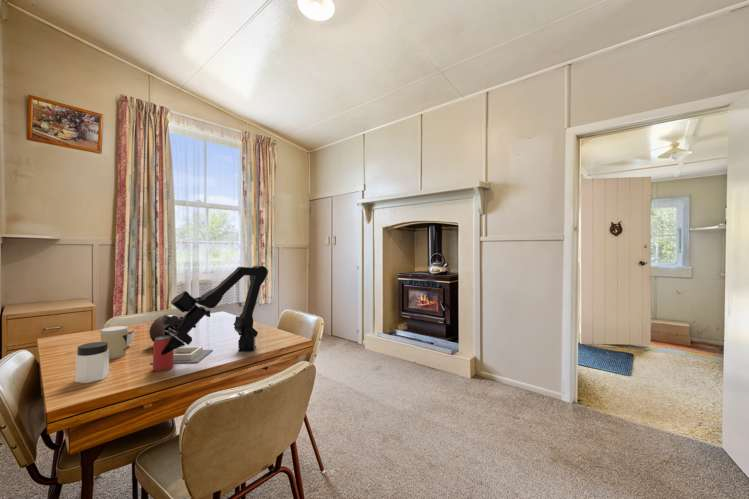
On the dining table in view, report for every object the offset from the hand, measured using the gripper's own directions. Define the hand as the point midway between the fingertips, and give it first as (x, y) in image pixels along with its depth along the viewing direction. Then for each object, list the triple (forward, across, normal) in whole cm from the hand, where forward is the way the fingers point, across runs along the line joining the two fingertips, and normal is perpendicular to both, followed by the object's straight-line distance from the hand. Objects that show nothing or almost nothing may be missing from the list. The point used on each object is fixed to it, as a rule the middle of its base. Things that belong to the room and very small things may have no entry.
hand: (159, 352), depth 123 cm
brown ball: (-3, -32, +13) cm, 35 cm away
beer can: (+4, 0, +6) cm, 7 cm away
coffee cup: (+11, -32, -2) cm, 33 cm away
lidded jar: (+8, -45, +1) cm, 46 cm away
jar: (+18, -7, -8) cm, 21 cm away
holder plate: (-3, -9, +12) cm, 16 cm away
